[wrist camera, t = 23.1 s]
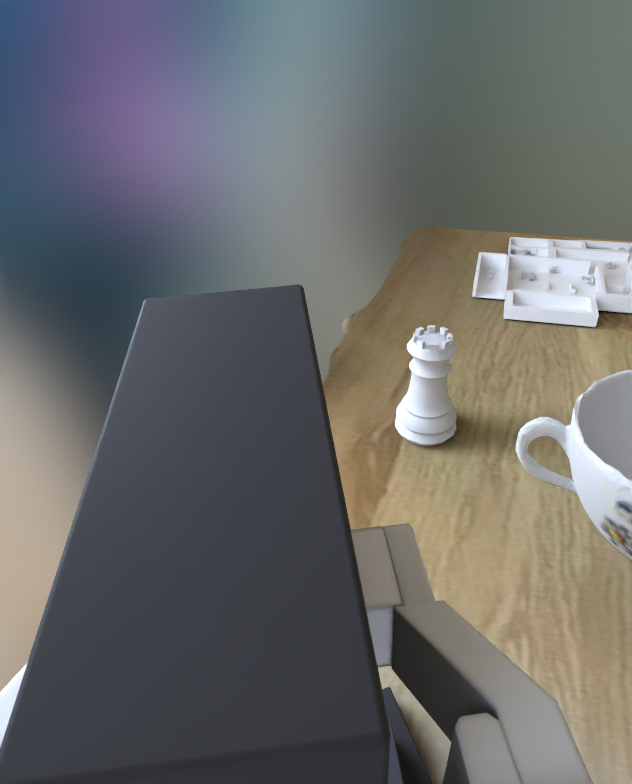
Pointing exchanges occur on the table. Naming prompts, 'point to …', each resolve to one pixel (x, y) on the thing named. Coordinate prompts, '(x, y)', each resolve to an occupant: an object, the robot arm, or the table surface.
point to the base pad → (402, 748)
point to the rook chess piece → (428, 390)
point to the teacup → (594, 455)
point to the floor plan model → (557, 279)
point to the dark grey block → (207, 573)
